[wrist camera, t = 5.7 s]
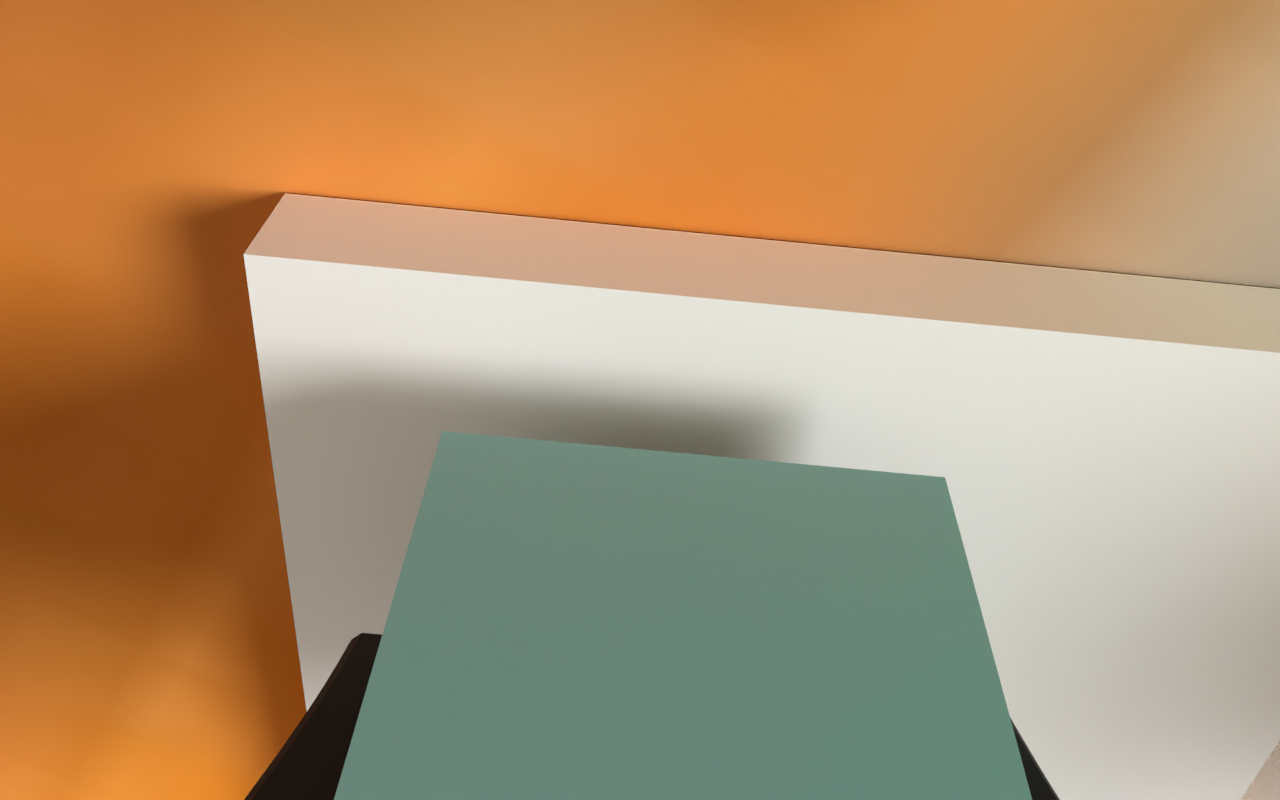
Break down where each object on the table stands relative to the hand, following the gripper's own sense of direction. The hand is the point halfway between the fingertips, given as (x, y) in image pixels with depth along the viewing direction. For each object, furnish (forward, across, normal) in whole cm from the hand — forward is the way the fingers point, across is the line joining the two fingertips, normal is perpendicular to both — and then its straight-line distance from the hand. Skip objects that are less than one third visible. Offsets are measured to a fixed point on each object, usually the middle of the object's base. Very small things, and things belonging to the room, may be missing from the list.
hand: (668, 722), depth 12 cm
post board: (+4, -2, +6) cm, 8 cm away
